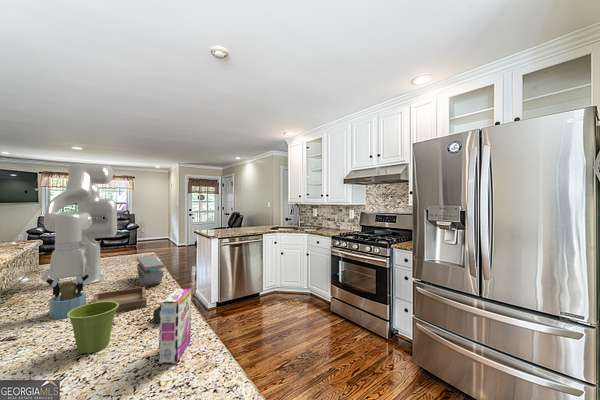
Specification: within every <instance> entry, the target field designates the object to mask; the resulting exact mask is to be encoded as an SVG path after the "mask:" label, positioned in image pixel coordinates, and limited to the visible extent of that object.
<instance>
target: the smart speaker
mask: <svg viewBox="0 0 600 400" xmlns="http://www.w3.org/2000/svg"><path fill="white" fill-rule="evenodd" d="M152 313H153V314H152V319H153V322H154V323H156V324H159V325H160V306H158V307H156V308H155V309H154V310H153V312H152Z"/></svg>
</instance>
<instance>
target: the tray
mask: <svg viewBox="0 0 600 400" xmlns="http://www.w3.org/2000/svg"><path fill="white" fill-rule="evenodd" d="M146 291H147V290H146V286H144V287H142V286H140V287H139V286H138V287H132V288H125V289H124V288H123V289H119V290H112V291H105V292H98V293H94V295H93V298H92V301H91V303H96V302H103V301H112V302H117V303H118V304H119V306H118V308H117V309H116V313H115V314H118V313H123V312H127V311H129V312H130V311H132V310H138V309H143V308H147V292H146Z"/></svg>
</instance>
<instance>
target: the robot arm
mask: <svg viewBox="0 0 600 400" xmlns="http://www.w3.org/2000/svg"><path fill="white" fill-rule="evenodd" d="M67 170H68V179H67V182H66V187H65V191H63V192H61V193H59V194H57V195H56V196H55V197H53V198H52V199H51V200H50V201H49V202H48V203H47V206H46V208H45V212H44V216H43V227H44V229H45V230H47V231H49V232H54V250H52V253H51V255H50V256H51V257H50V264H49V269H48V270H47V271H46V272H45V273H43V275H42V276H41V277H40V280H42V281H44V282H45V283H47V284H49V285H50V286H51V287H52V295H54V297H58V296H59V295H61V293H60V292H59V288H60V286H61V285H60V284H59V282H60V279H64V278H65V279H66V278H73V277H74V278H75V277H76V278H75V279H73V280H72V281H71V283H76V284H77V290H76V292H77V294H80V293H81V292H84V286H85V285H91V284H96V283H100V282H102V281H103V280H104V278H105V277H104V276H103V275H101V245H100V243H99V242H98V241H97V240H96V239H102V238H113V237H114V236H116V235H117V231H118V208H117V207H118V206H117V202H116V201H115V200H114V199H112V198H100V188H99V187H98V185H108V184H110V183H111V182H112V181H113V178H114V170H113V168H112V166H111V165H105V164H92V163H91V164H89V163H73V164H70V165H69V166H68V168H67ZM74 204H77V211H60V210H62V209H63V208H65V207H68V206H71V205H74ZM101 217H102V218H105V219H97V218H101ZM94 218H95V219H94Z"/></svg>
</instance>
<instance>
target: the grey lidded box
mask: <svg viewBox="0 0 600 400" xmlns="http://www.w3.org/2000/svg"><path fill="white" fill-rule="evenodd" d="M136 261H137V264H136V267H137V268H136V269H137V276H138V282H139V281H140V282H139V283H140V285H141V287H142V286H144V287H149V286H154V284H155V285H158V284H159V285H160V284H161V283H162V280H163V276H164V270H163V269H164V265H165V264H163V262H161V261H160V260H159V259H158V258H157V257H156V256H155V255H148V256H146V255H145V256H140V257H139V256H138V257H136ZM148 285H149V286H148Z"/></svg>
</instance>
